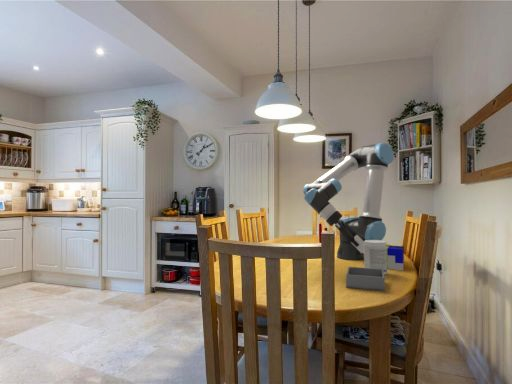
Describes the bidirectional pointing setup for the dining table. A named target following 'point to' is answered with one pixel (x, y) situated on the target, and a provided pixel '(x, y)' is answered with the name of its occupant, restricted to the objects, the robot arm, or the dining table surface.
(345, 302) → the dining table surface
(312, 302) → the dining table surface
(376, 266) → the supplement tub
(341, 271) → the dining table surface
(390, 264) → the puzzle toy
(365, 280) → the crate
